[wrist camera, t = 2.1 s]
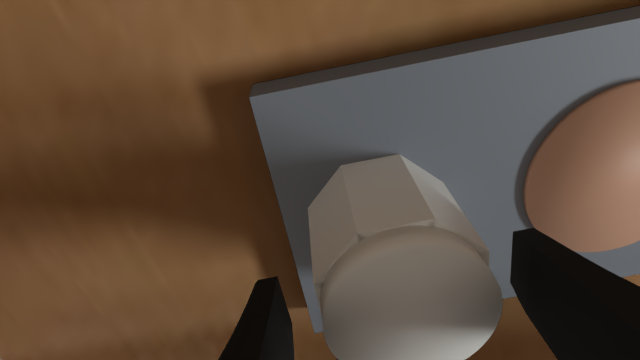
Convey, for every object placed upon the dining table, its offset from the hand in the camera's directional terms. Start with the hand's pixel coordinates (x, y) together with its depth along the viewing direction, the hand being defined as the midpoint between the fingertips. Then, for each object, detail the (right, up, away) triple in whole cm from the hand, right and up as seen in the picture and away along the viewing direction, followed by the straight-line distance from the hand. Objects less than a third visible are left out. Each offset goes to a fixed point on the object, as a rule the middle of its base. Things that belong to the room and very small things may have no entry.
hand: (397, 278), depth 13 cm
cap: (0, +2, +3) cm, 3 cm away
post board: (+4, +3, +4) cm, 7 cm away
